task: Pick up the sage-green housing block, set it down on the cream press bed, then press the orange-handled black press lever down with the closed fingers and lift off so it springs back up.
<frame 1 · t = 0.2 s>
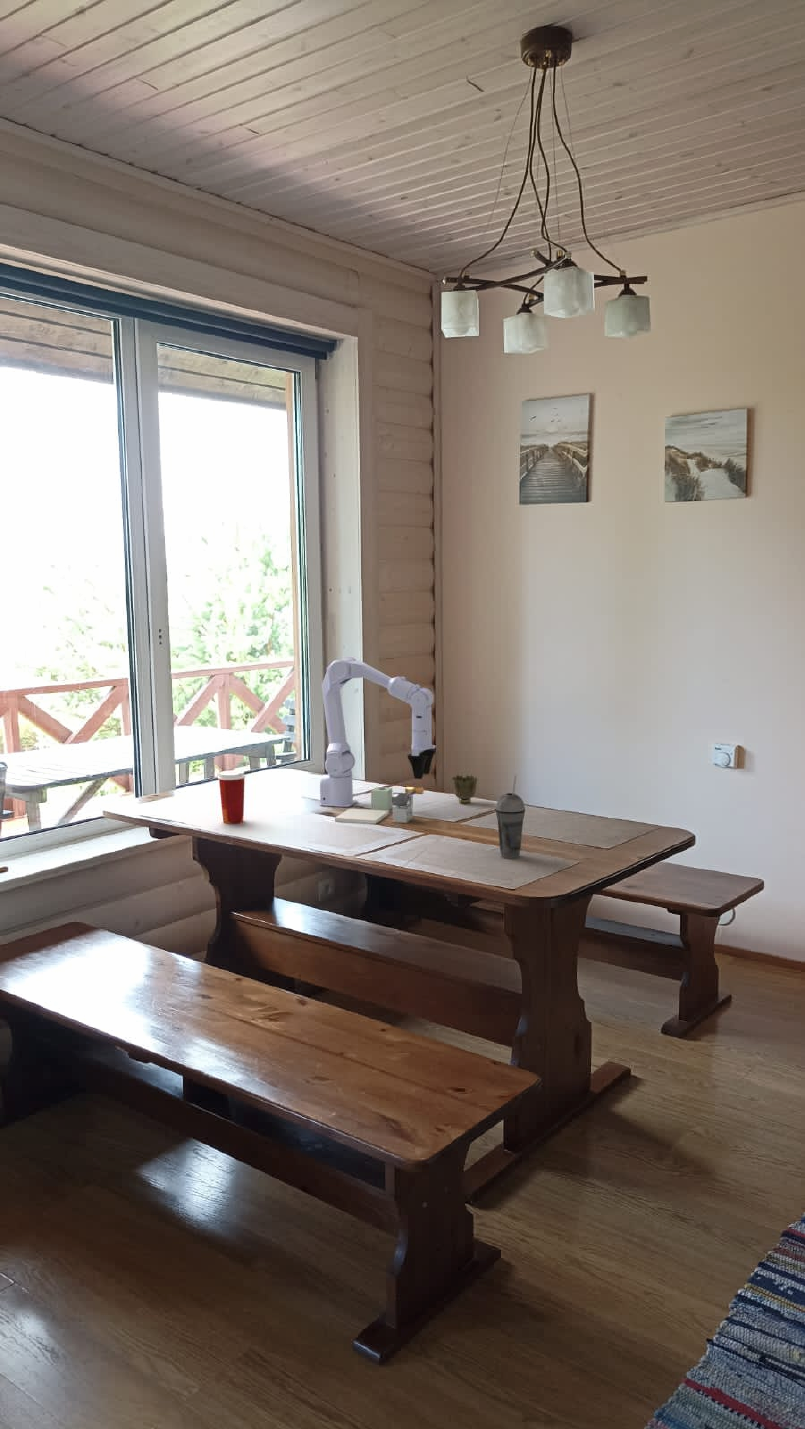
hand: (421, 776, 294), 10 cm above the table, fingers open, 7 cm apart
cup: (464, 803, 302), on the table
paper cup: (233, 822, 283), on the table
press bed: (362, 817, 285), on the table
white square planter: (402, 820, 282), on the table
housing: (382, 809, 296), on the table
press lever: (406, 794, 285), point 6 cm above the table, hinge at 0.0°
beverage cup: (510, 857, 244), on the table
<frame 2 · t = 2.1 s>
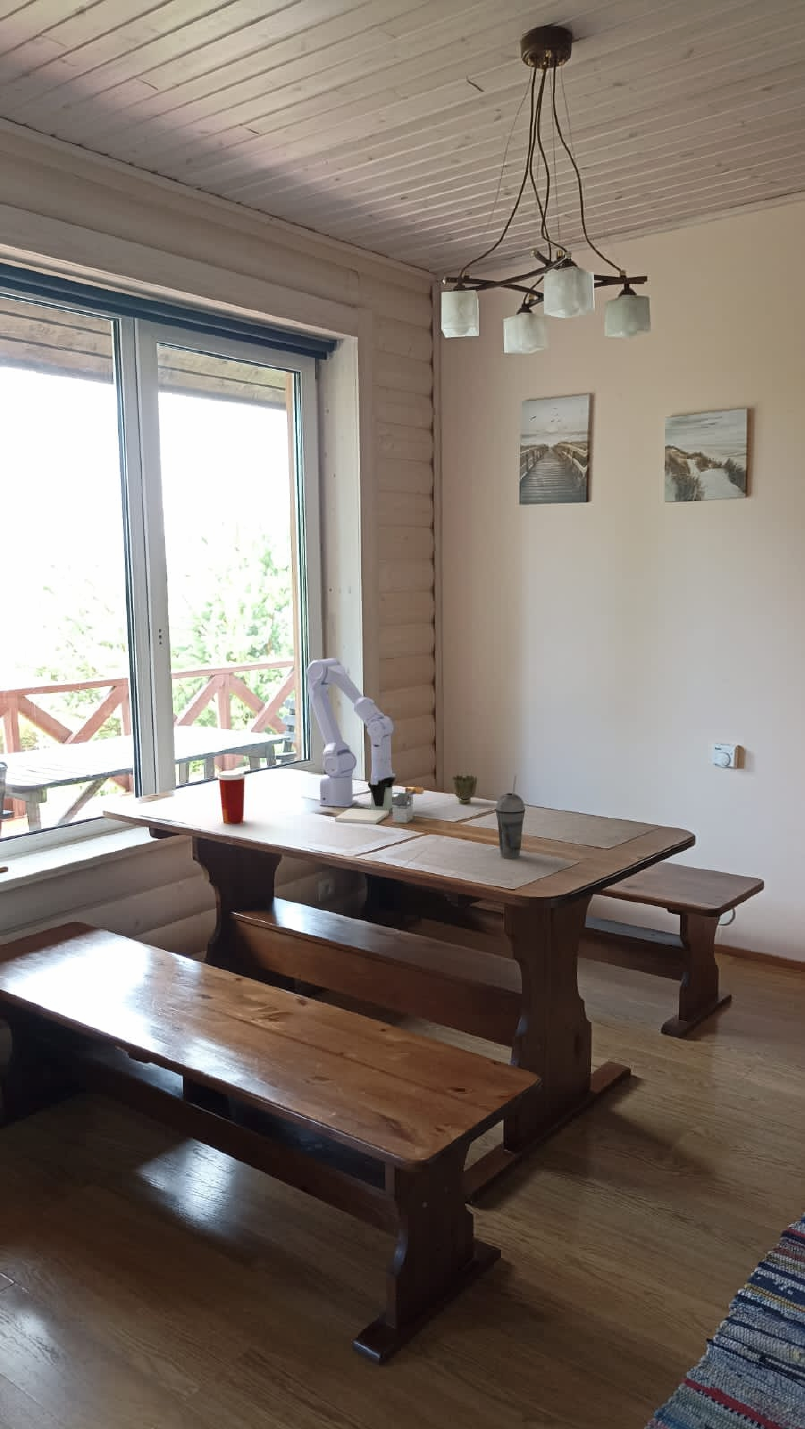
hand: (381, 804, 296), 1 cm above the table, fingers closed on housing, 5 cm apart
housing: (382, 808, 296), on the table, touching gripper
everything else where it was.
when the fingers open (3 cm above the table, at t = 5.5 s): housing stays where it is, resting on press bed.
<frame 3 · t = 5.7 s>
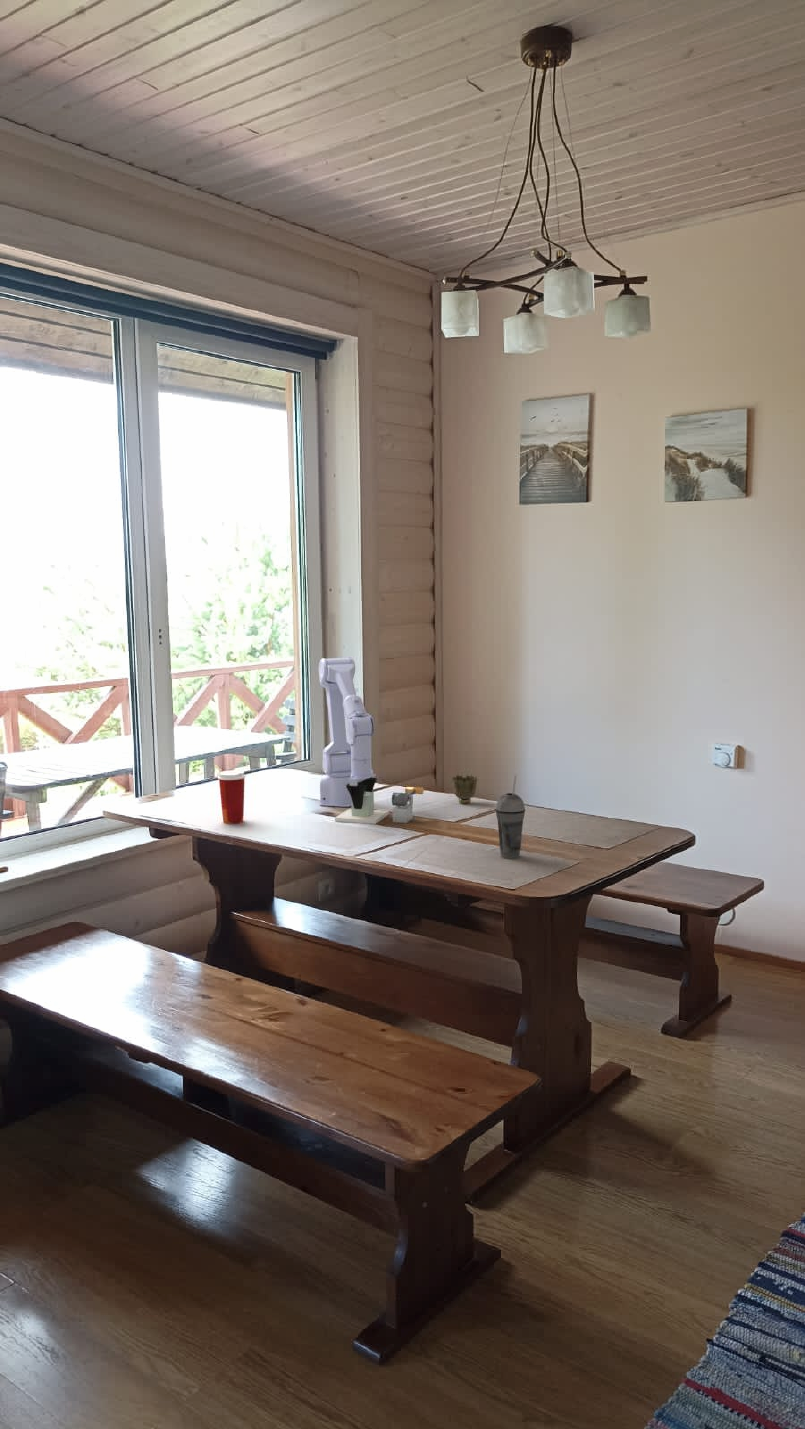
hand: (362, 805, 285), 3 cm above the table, fingers open, 7 cm apart
housing: (362, 814, 285), point 1 cm above the table, touching press bed
everything else where it was.
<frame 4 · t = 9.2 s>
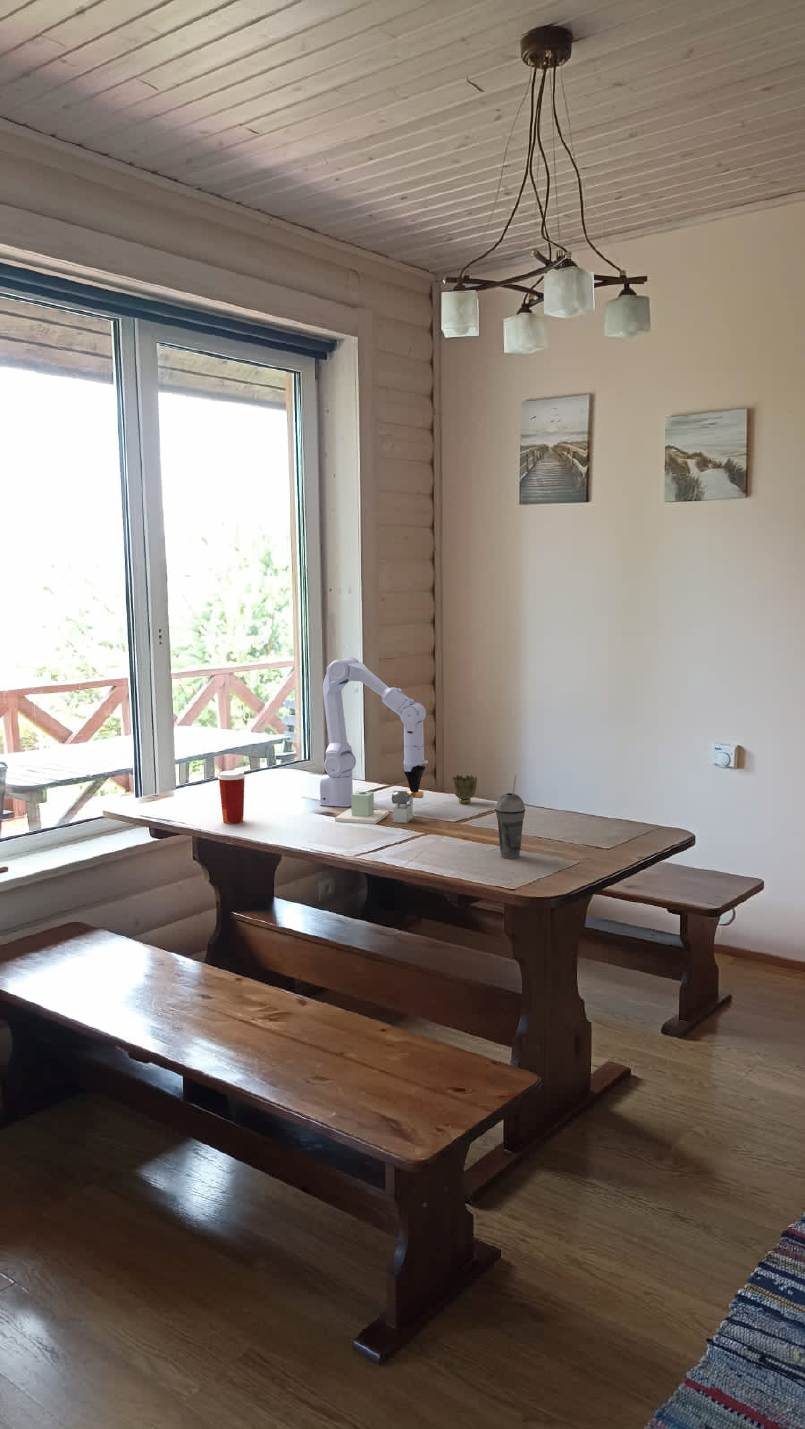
hand: (414, 791, 292), 6 cm above the table, fingers closed, pressing on press lever
press lever: (406, 795, 285), point 6 cm above the table, hinge at -6.9°, touching gripper
everything else where it was.
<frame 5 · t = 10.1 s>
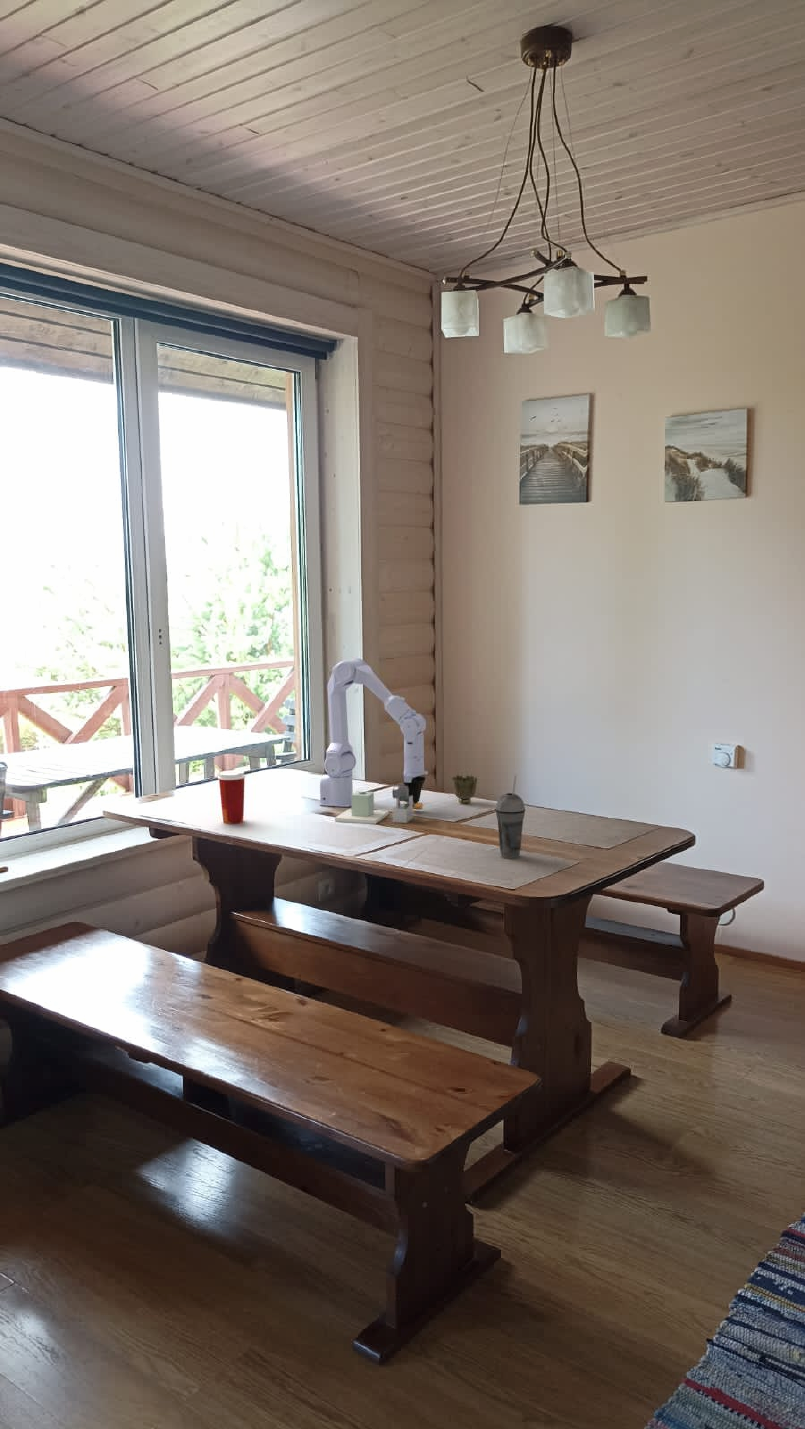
hand: (414, 802, 293), 3 cm above the table, fingers closed
press lever: (406, 797, 285), point 5 cm above the table, hinge at -25.7°, touching gripper
everything else where it was.
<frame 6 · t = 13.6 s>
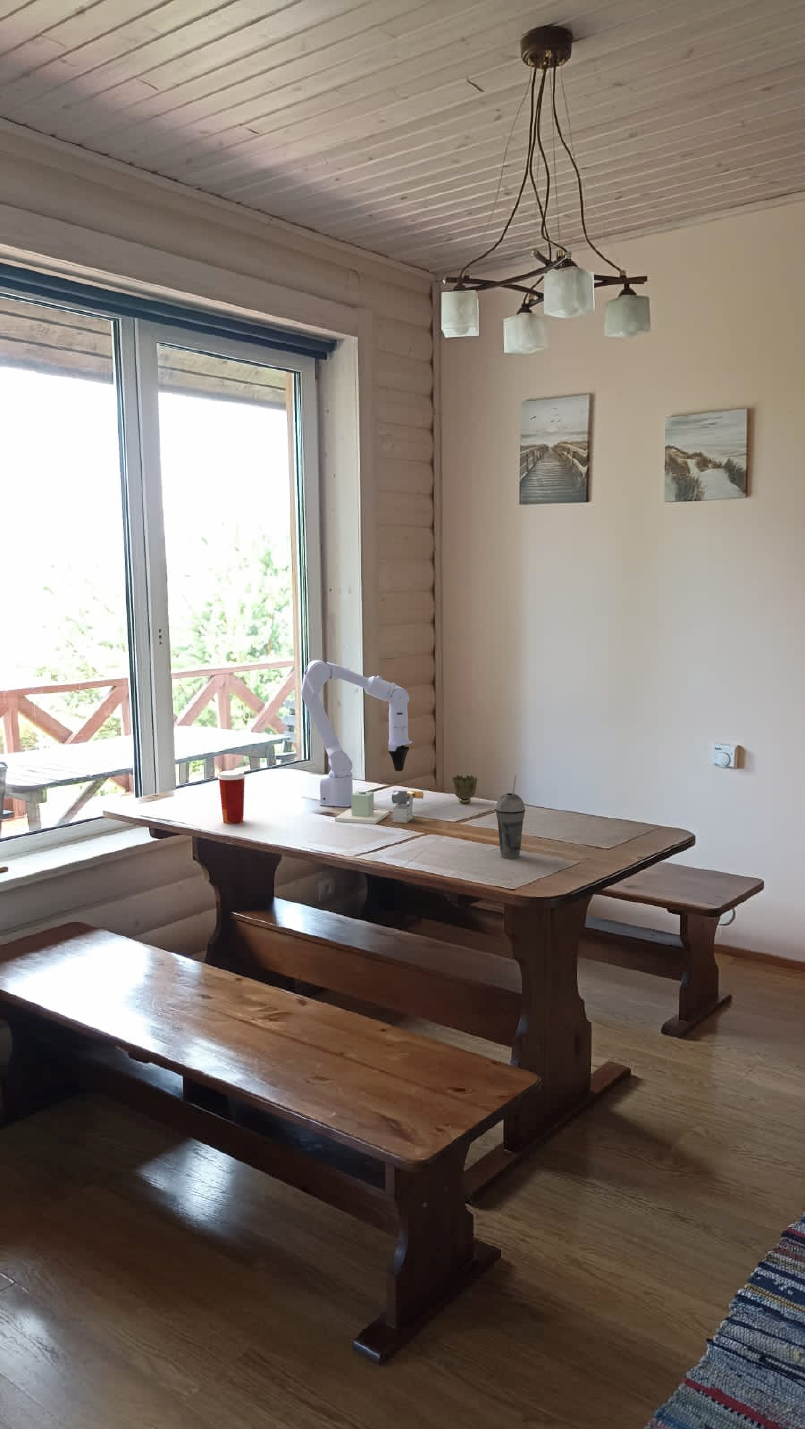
hand: (399, 770, 305), 9 cm above the table, fingers closed
press lever: (406, 795, 285), point 6 cm above the table, hinge at -7.3°
everything else where it was.
at the end: housing inside the target area on the press bed (0.2 cm from its centre), point 1.0 cm above the press bed's base; housing tilted 0°; press lever at -7° (first picture: +0°) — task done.
